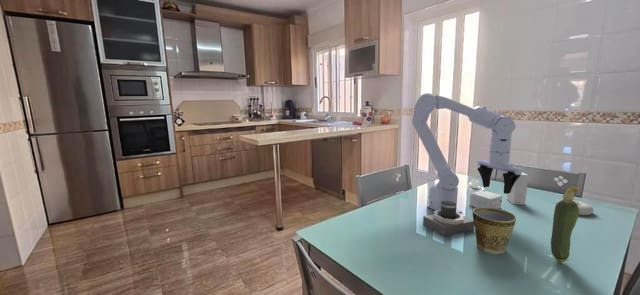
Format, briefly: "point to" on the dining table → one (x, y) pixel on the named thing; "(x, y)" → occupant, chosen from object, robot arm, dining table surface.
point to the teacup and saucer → (474, 185)
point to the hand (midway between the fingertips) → (496, 189)
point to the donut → (583, 208)
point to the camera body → (448, 224)
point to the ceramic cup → (493, 228)
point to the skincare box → (519, 190)
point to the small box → (485, 199)
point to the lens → (448, 209)
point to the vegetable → (564, 225)
